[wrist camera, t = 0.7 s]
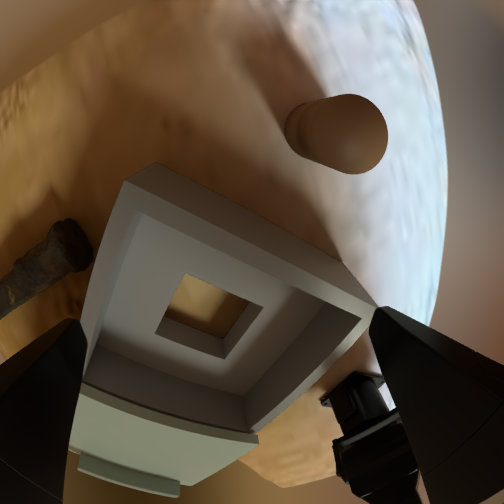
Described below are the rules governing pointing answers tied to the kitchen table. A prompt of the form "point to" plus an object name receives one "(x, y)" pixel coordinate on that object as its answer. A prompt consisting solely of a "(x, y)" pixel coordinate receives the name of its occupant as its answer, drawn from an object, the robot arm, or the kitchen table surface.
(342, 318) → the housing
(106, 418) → the lid
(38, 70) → the kitchen table surface
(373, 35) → the kitchen table surface
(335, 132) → the peg
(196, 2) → the kitchen table surface
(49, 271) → the dark brown rough bar
